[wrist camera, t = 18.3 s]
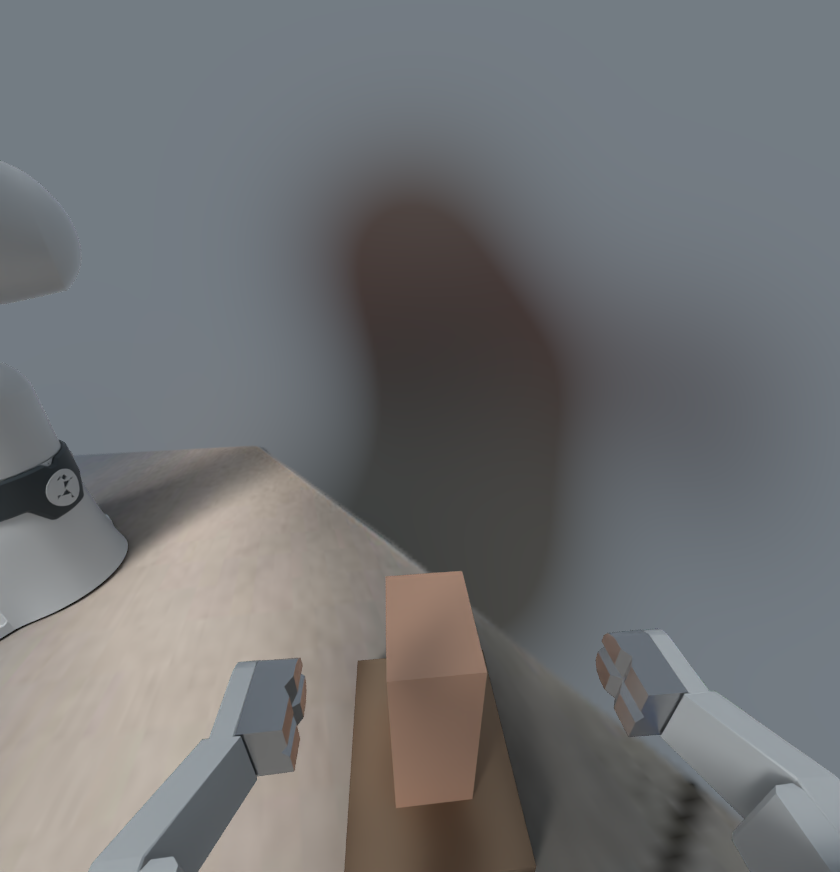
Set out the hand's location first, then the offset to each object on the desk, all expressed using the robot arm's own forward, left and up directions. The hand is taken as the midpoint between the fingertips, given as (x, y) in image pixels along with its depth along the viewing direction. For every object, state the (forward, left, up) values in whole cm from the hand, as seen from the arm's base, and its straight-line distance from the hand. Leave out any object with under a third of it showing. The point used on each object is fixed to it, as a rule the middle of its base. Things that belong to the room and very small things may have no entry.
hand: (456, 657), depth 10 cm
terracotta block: (0, +7, -19) cm, 20 cm away
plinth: (0, +7, -22) cm, 23 cm away
